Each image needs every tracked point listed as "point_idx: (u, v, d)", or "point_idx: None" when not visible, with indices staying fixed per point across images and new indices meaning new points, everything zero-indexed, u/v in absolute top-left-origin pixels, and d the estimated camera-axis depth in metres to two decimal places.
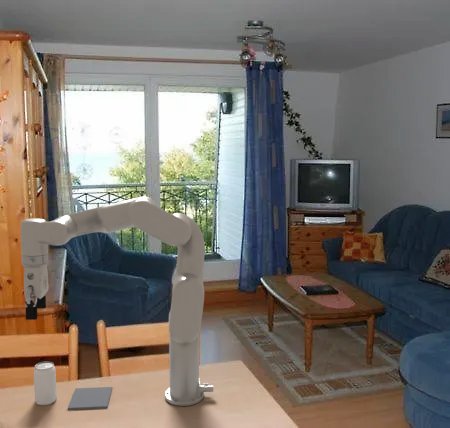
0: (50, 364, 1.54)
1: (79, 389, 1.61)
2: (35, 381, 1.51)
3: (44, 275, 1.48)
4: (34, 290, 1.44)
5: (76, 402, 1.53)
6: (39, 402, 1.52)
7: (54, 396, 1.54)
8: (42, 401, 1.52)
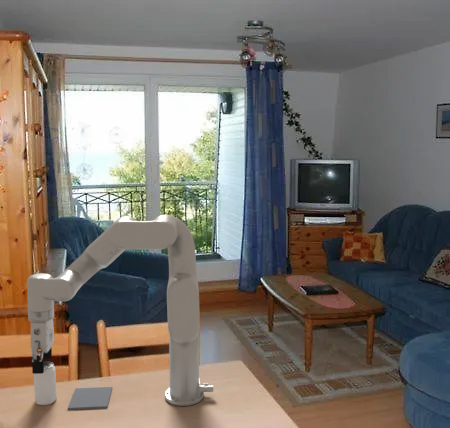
0: (50, 364, 1.54)
1: (79, 389, 1.61)
2: (35, 381, 1.51)
3: (50, 329, 1.51)
4: (40, 345, 1.47)
5: (76, 402, 1.53)
6: (39, 402, 1.52)
7: (54, 396, 1.54)
8: (42, 401, 1.52)
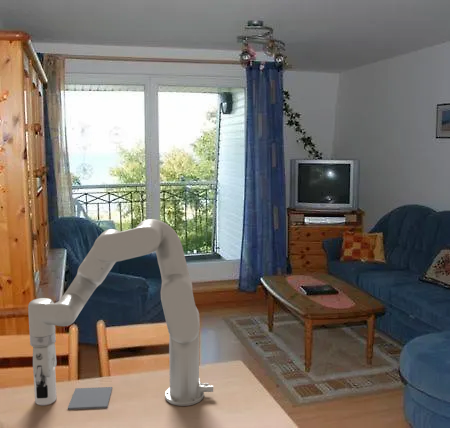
0: None
1: (79, 389, 1.61)
2: None
3: (52, 353, 1.52)
4: (43, 370, 1.48)
5: (76, 402, 1.53)
6: (39, 402, 1.52)
7: (54, 396, 1.54)
8: (42, 401, 1.52)
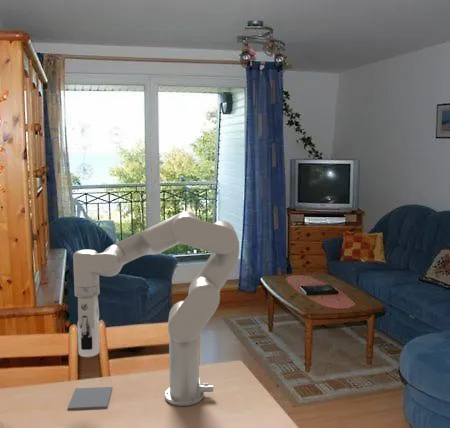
0: None
1: (79, 389, 1.61)
2: (79, 332, 1.50)
3: (96, 304, 1.52)
4: (88, 320, 1.47)
5: (76, 402, 1.53)
6: (83, 354, 1.51)
7: (98, 348, 1.53)
8: (86, 352, 1.51)
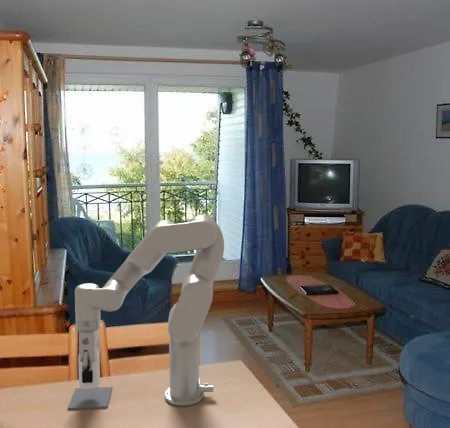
0: None
1: (79, 389, 1.61)
2: (80, 366, 1.52)
3: (97, 338, 1.53)
4: (89, 354, 1.49)
5: (76, 402, 1.53)
6: (84, 387, 1.52)
7: (98, 381, 1.55)
8: (87, 385, 1.52)
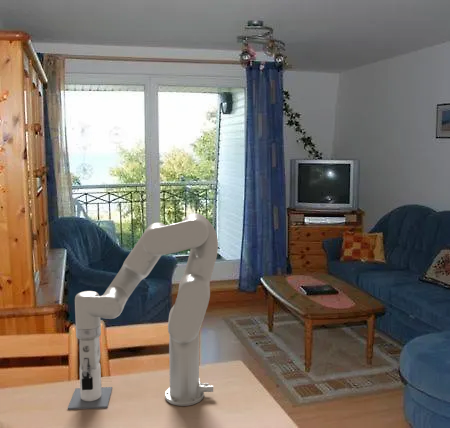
0: None
1: (79, 389, 1.61)
2: (81, 377, 1.53)
3: (97, 345, 1.53)
4: (89, 362, 1.49)
5: (76, 402, 1.53)
6: (85, 398, 1.53)
7: (99, 392, 1.55)
8: (88, 397, 1.53)
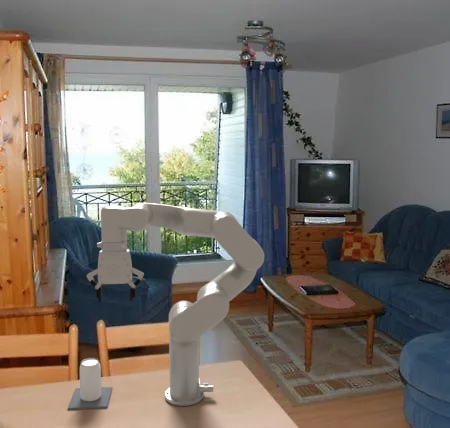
0: (95, 361, 1.56)
1: (79, 389, 1.61)
2: (81, 377, 1.53)
3: (112, 263, 1.47)
4: (98, 273, 1.49)
5: (76, 402, 1.53)
6: (85, 398, 1.53)
7: (99, 392, 1.55)
8: (88, 397, 1.53)
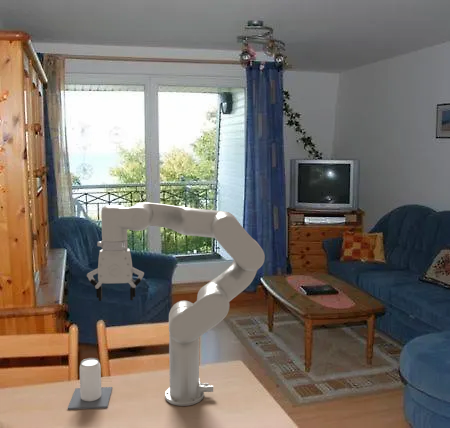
0: (95, 361, 1.56)
1: (79, 389, 1.61)
2: (81, 377, 1.53)
3: (112, 263, 1.47)
4: (98, 272, 1.49)
5: (76, 402, 1.53)
6: (85, 398, 1.53)
7: (99, 392, 1.55)
8: (88, 397, 1.53)
